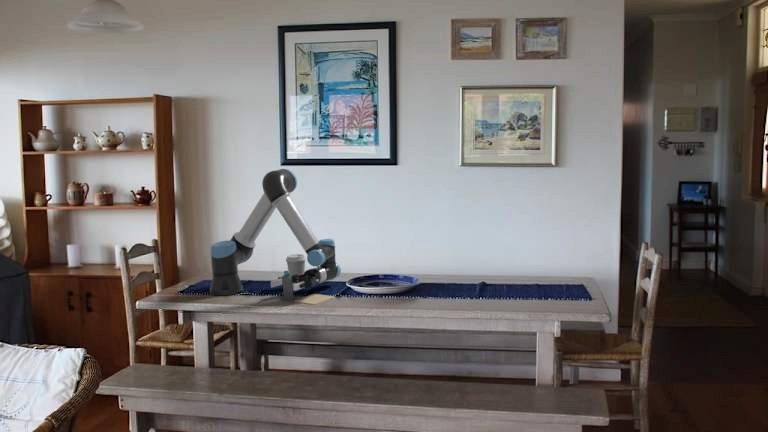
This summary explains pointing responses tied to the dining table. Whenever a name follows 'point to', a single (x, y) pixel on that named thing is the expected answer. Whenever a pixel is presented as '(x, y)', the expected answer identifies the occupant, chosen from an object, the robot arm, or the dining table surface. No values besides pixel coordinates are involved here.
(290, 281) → the grey bottle
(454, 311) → the dining table surface
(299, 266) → the coffee cup
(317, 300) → the notepad
